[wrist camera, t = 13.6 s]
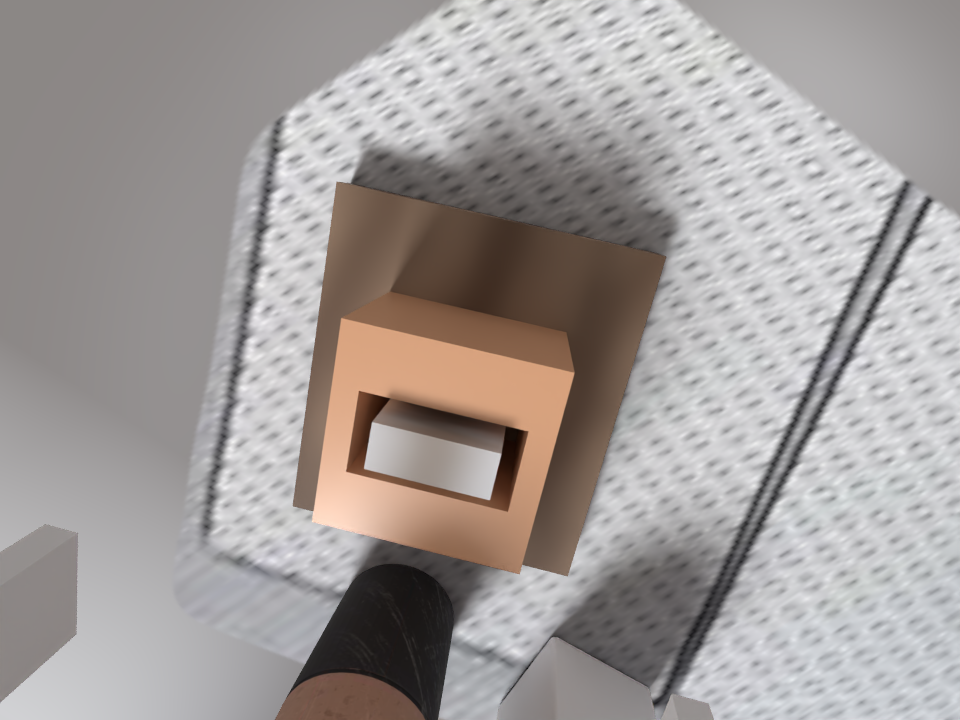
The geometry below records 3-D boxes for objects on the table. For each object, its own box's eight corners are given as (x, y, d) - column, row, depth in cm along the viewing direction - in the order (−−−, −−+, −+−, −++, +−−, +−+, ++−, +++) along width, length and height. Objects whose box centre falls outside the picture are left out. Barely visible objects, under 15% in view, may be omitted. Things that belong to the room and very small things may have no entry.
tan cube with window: (566, 332, 27) (574, 372, 21) (524, 491, 30) (519, 574, 23) (389, 291, 28) (341, 318, 21) (363, 452, 30) (312, 521, 23)
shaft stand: (657, 253, 28) (719, 276, 18) (566, 554, 33) (576, 697, 23) (350, 183, 28) (253, 170, 19) (306, 488, 33) (212, 601, 24)
